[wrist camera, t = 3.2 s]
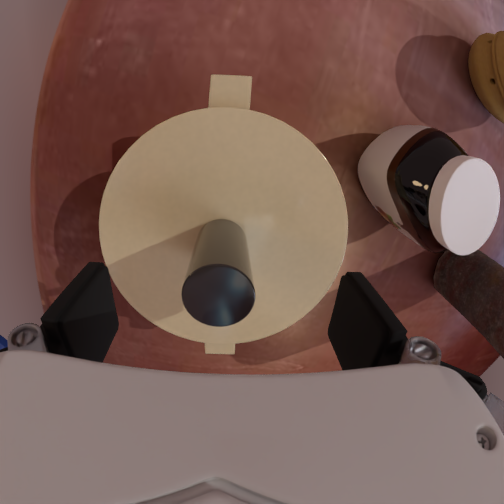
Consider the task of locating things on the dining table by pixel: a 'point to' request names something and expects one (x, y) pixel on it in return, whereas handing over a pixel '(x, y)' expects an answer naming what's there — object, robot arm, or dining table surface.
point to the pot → (488, 72)
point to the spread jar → (430, 189)
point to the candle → (474, 292)
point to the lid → (223, 225)
